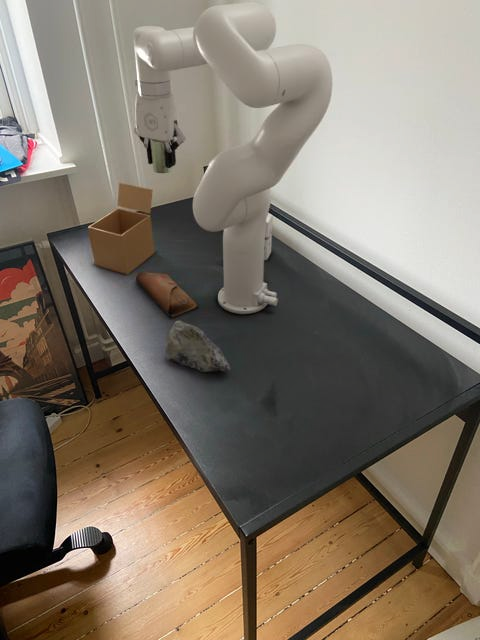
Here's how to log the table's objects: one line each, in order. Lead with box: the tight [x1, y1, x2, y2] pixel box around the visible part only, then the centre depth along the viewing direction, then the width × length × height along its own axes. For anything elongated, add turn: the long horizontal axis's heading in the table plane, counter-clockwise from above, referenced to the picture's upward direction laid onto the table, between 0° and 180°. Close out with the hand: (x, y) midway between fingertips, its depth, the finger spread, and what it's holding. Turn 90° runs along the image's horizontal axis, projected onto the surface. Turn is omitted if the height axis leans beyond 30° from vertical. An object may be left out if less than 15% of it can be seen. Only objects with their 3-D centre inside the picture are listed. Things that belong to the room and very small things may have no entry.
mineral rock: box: [165, 320, 232, 373], centre depth 105 cm, size 13×11×10 cm
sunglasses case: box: [135, 271, 198, 318], centre depth 128 cm, size 18×7×7 cm
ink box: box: [264, 213, 274, 261], centre depth 142 cm, size 9×5×12 cm, turn 73°
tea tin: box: [150, 139, 173, 174], centre depth 129 cm, size 5×5×9 cm
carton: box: [87, 207, 156, 275], centre depth 140 cm, size 13×11×11 cm
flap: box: [117, 182, 154, 214], centre depth 140 cm, size 6×11×1 cm
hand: (161, 163), depth 131 cm, fingers closed on tea tin, 4 cm apart
